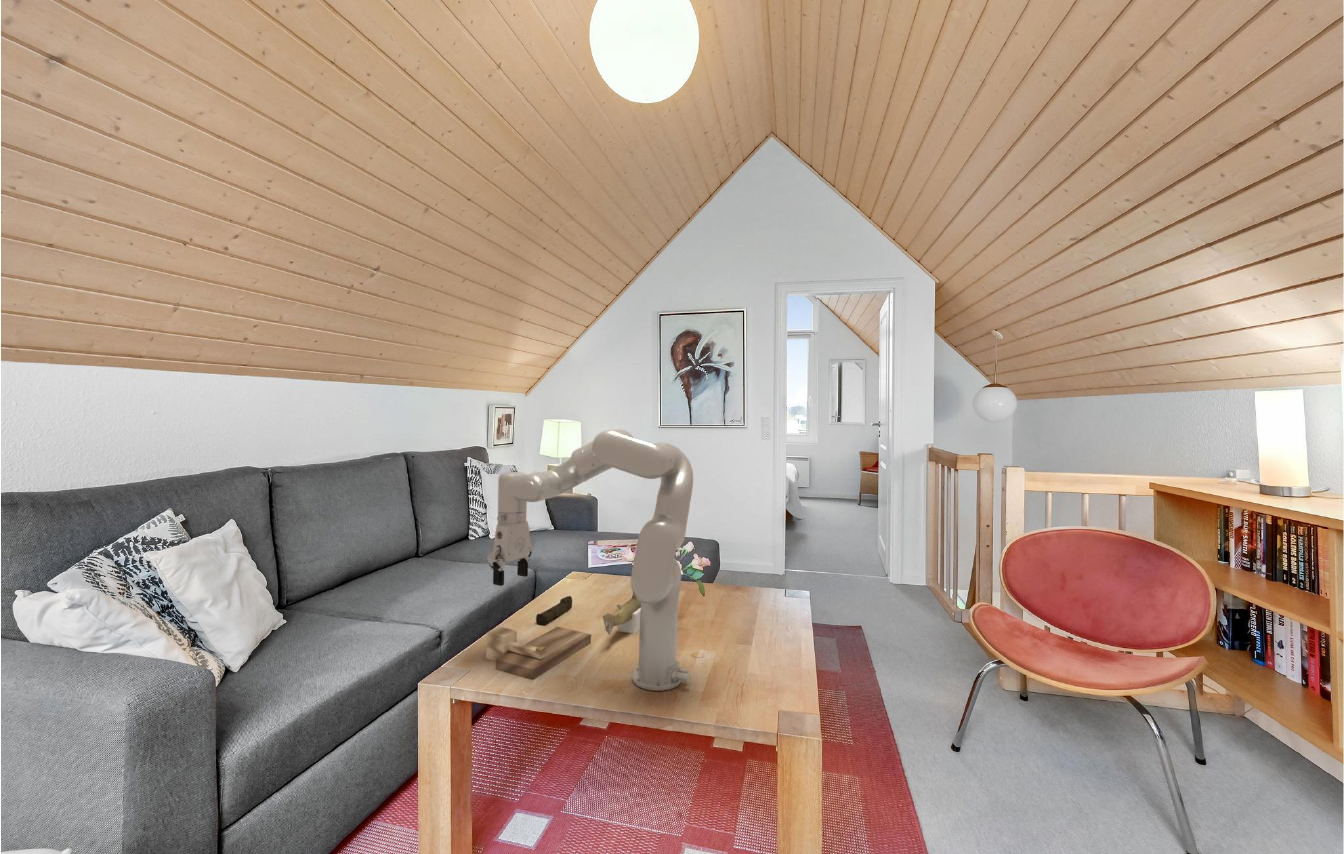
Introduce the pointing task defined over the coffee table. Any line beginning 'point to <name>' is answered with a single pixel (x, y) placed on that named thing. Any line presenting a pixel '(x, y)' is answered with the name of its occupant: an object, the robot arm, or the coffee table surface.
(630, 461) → the robot arm
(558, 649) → the board
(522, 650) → the beige block with stick
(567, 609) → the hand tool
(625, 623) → the wood carving
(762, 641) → the coffee table surface
